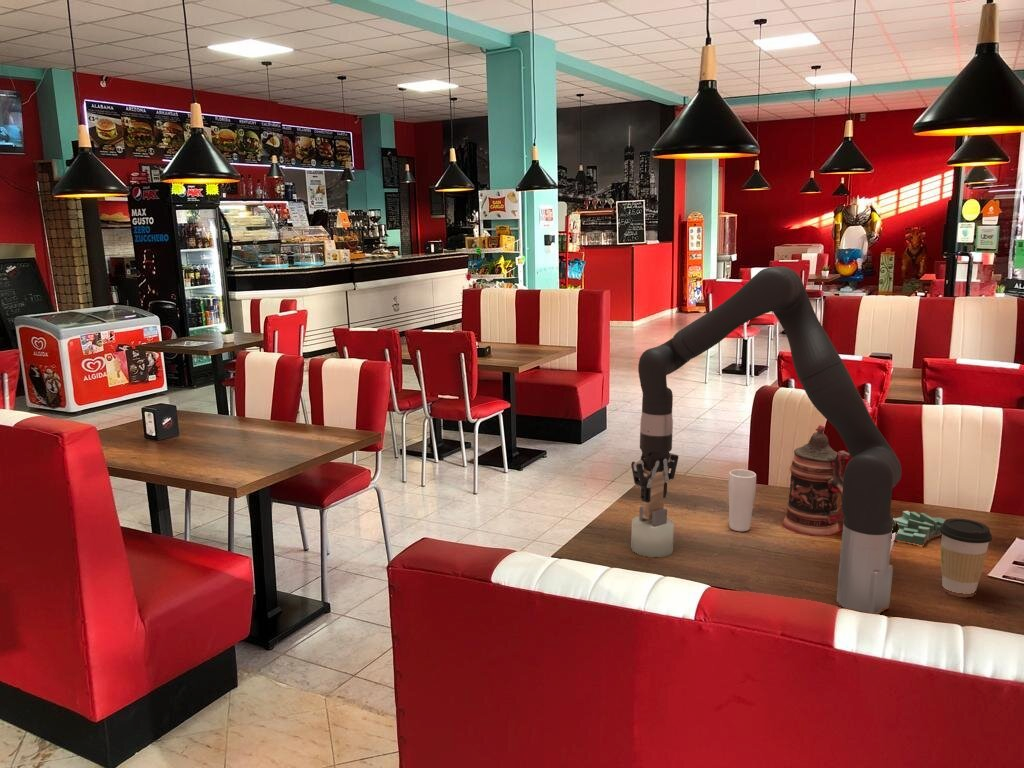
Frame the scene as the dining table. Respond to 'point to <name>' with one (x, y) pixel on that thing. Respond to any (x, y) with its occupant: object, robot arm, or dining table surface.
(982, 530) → the coffee cup
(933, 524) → the money
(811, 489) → the beer stein
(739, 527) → the drinking glass
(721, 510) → the dining table surface
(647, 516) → the brown wooden block
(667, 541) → the cream plug cylinder
